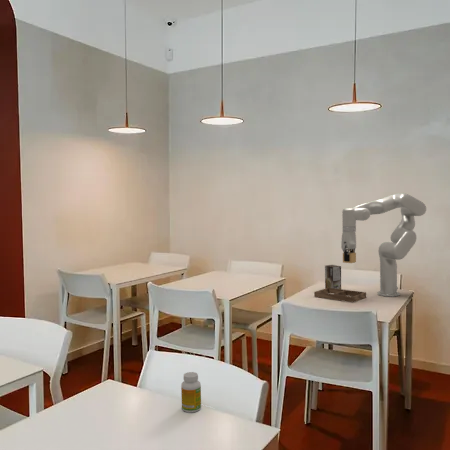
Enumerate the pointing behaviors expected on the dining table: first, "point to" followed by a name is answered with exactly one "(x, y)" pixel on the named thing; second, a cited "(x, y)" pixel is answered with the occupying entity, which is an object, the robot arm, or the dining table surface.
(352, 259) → the marked cube
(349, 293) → the organiser
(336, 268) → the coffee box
